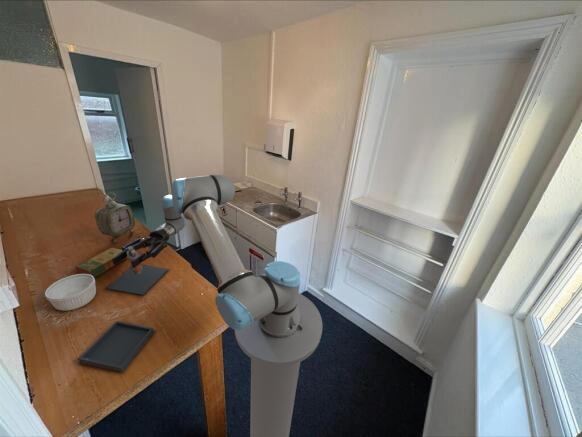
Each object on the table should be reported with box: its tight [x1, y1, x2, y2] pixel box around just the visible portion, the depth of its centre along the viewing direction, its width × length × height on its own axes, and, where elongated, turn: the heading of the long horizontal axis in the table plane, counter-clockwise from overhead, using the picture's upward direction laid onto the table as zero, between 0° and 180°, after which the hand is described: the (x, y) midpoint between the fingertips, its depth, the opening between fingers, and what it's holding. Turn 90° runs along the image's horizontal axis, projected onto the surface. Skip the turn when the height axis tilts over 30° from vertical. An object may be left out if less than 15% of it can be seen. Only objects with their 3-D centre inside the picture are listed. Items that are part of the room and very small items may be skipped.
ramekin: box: [44, 273, 97, 312], centre depth 84 cm, size 13×13×7 cm
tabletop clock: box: [94, 192, 136, 244], centre depth 120 cm, size 14×9×25 cm, turn 168°
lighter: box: [127, 246, 143, 274], centre depth 93 cm, size 8×3×10 cm, turn 47°
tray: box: [77, 320, 155, 373], centre depth 71 cm, size 13×13×2 cm
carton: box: [74, 247, 128, 278], centre depth 102 cm, size 8×16×4 cm, turn 163°
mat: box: [105, 264, 169, 296], centre depth 98 cm, size 16×16×1 cm
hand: (123, 263), depth 88 cm, fingers closed on lighter, 7 cm apart
